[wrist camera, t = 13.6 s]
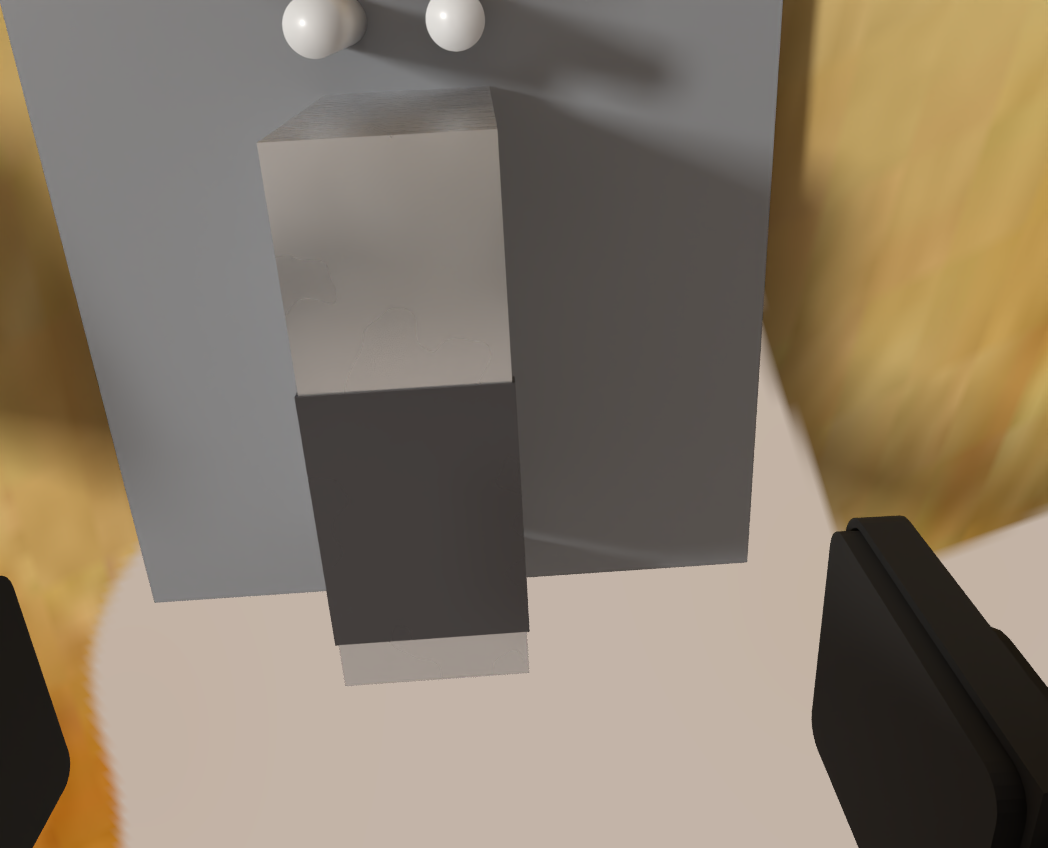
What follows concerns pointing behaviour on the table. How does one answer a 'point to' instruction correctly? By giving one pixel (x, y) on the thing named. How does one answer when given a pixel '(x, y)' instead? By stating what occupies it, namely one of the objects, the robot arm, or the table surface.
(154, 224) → the pin tray
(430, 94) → the block
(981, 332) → the table surface
